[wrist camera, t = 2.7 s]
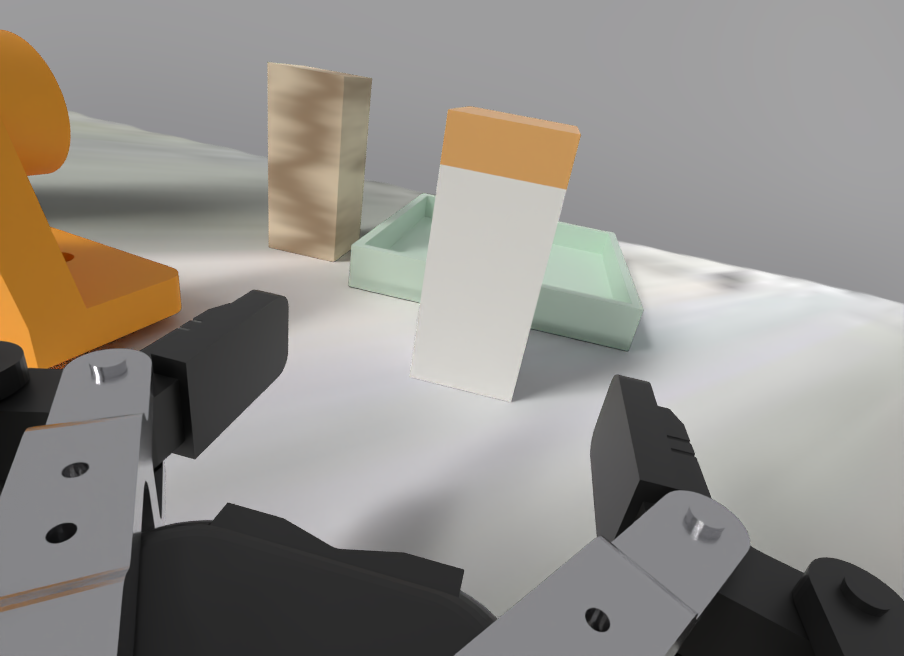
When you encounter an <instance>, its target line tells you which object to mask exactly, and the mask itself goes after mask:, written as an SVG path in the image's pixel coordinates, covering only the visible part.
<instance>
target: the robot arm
mask: <svg viewBox="0 0 904 656" xmlns="http://www.w3.org/2000/svg"><path fill="white" fill-rule="evenodd" d="M287 356H288V301H287V299H286V297H284V296H281V295H277V294H273V293H268V292H264V291H260V290H252V291H250V292H249V293H247V294H245V295H244V296H242V297H241V298H239V299H237V300H236V301H234V302H233V303H231V304H230V303H229V304H225V305H222V306H219V307H215V308H212V309H208V310H207V311H205V312H203V313H202V314H200V315H198V316H197V317H195V318H193V321H188V322H187V323H185V324H184V325H182V326H180V329H178V328H177V329H175V330H174V331H172V332H170V333H169V334H167V335H165V336H164V337H162V338H160V339H159V340H157V341H155V342H154V343H152V344H150V345H149V346H147V347H145V348H144V349H142V350H140V351H137V350H133V349H120V348H119V349H105V350H100V351H95V352H91V353H88V354H85V355H83V356H80V357H78V358H76V359H74V360H73V361H71V362H70V363H69V364H68V365H67V366H66V367H65V368H64V369H44V368H28V367H27V363H26V359H25V355H24V351H23V349H22V348H21V347H20V346H19V345H17V344H15V343H11V342H6V341H0V656H904V601H903V599H902V598H901V597H900V596H899V595H898V594H897V593H896V592H894V591H893V590H892V589H891V588H890V587H889V586H887V585H886V584H885V583H883V582H882V581H881V580H879V579H878V578H877V577H875V576H873V575H872V574H870V573H869V572H867V571H865V570H863V569H861V568H860V567H857V566H855V565H853V564H851V563H848V562H845V561H842V560H839V559H835V558H827V557H826V558H818V559H815V560H814V561H812V562H811V564H810V565H809V566H808V568H807V569H806V571H805V572H804V573H803V572H800V571H798V570H796V569H794V568H792V567H790V566H788V565H786V564H784V563H782V562H780V561H778V560H776V559H774V558H772V557H770V556H768V555H766V554H764V553H762V552H760V551H758V550H756V549H755V548H753V547H752V546H750V538H749V535H748V532H747V530H746V529H745V527H744V525H743V524H742V523H741V521H740V520H739V519H738V518H737V517H736V516H735V515H734V514H733V513H732V512H731V511H730V510H728V509H727V508H726V507H724V506H723V505H722V504H720V503H718V502H717V501H715V500H713V499H712V498H711V496H710V493H709V490H708V488H707V485H706V482H705V480H704V477H703V474H702V472H701V469H700V466H699V464H698V461H697V458H696V457H694V455H695V453H694V450H693V448H692V445H691V444H690V443H689V442H690V440H689V437H688V434H687V432H686V429H685V426H684V424H683V423H682V422H681V421H680V420H679V419H678V418H677V417H676V416H675V414H674V413H673V412H672V411H671V410H670V409H668V408H664V407H660V406H657V403H656V400H655V396H654V393H653V390H652V387H651V384H650V383H649V382H647V381H643V380H638V379H634V378H630V377H625V376H621V375H615V376H614V377H613V379H612V381H611V384H610V386H609V389H608V392H607V395H606V398H605V400H604V403H603V406H602V409H601V412H600V415H599V417H598V420H597V423H596V426H595V429H594V432H593V436H592V441H591V449H590V459H591V471H592V483H593V496H594V508H595V520H596V532H597V538H595V539H594V540H592V541H591V542H590V543H589V544H587V545H586V546H585V547H584V548H583V549H581V550H580V551H579V552H578V553H577V554H575V555H574V556H573V557H572V558H571V559H569V560H568V561H567V562H566V563H565V564H563V565H562V566H561V567H560V568H559V569H557V570H556V571H555V572H554V573H553V574H551V575H550V576H549V577H548V578H547V579H545V580H544V581H543V582H542V583H540V584H539V585H538V586H537V587H536V588H534V589H533V590H532V591H531V592H530V593H528V594H527V595H526V596H525V597H524V598H522V599H521V600H520V601H519V602H518V603H516V604H515V605H514V606H513V607H512V608H510V609H509V610H508V611H507V612H506V613H504V614H503V615H502V616H501V617H500V618H498V619H497V618H496V617H495V616H494V615H493V614H492V613H491V612H490V611H489V610H488V609H487V608H485V607H484V606H483V605H482V604H480V603H479V602H478V601H476V600H475V599H474V598H472V597H471V596H469V595H467V594H466V593H464V592H462V591H461V590H460V589H461V584H462V579H463V574H464V570H463V569H460V568H456V567H453V566H449V565H446V564H442V563H439V562H435V561H432V560H428V559H425V558H421V557H418V556H414V555H411V554H407V553H402V552H383V551H365V550H346V549H338V548H334V547H332V546H330V545H328V544H327V543H325V542H323V541H321V540H320V539H318V538H316V537H315V536H313V535H311V534H309V533H308V532H306V531H304V530H303V529H301V528H299V527H297V526H296V525H294V524H292V523H291V522H289V521H287V520H285V519H284V518H280V517H277V516H273V515H270V514H266V513H263V512H259V511H256V510H252V509H249V508H245V507H242V506H238V505H235V504H231V503H227V504H226V505H225V506H224V508H223V509H222V510H221V511H220V512H219V514H218V515H217V516H216V517H215V519H214V520H201V521H188V522H180V523H174V524H170V525H165V481H166V470H165V462H164V460H165V459H166V458H167V457H168V456H169V455H170V454H171V453H174V454H178V455H181V456H185V457H188V458H192V459H196V458H197V457H198V456H199V455H200V454H201V453H202V452H203V451H204V450H205V449H206V448H207V447H208V446H209V445H210V444H211V443H212V442H213V441H214V440H215V439H216V438H217V437H218V436H219V435H220V434H221V433H222V432H223V431H224V430H225V429H226V428H227V427H228V426H229V425H230V424H231V423H232V422H233V421H234V420H235V419H236V418H237V417H238V416H239V415H240V414H241V413H242V412H243V411H244V410H245V409H246V408H247V407H248V406H249V405H250V404H251V403H252V402H253V401H254V400H255V399H256V398H257V397H258V396H259V395H260V394H261V393H262V392H264V391H265V390H266V389H267V388H268V387H269V386H270V385H271V384H272V383H273V382H274V381H275V380H276V379H277V378H278V377H279V375H280V374H281V373H282V371H283V369H284V367H285V364H286V361H287Z"/></svg>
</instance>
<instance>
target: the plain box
mask: <svg viewBox="0 0 904 656" xmlns="http://www.w3.org/2000/svg"><path fill="white" fill-rule="evenodd" d="M371 84H372V78H367V77H362V76H357V75H351V74H346V73H340V72H335V71H330V70H324V69H319V68H313V67H307V66H300V65H291V64H280V63H271V62H268V204H269V247H270V248H274V249H279V250H283V251H287V252H292V253H296V254H301V255H305V256H309V257H314V258H318V259H323V260H327V261H331V262H335V261H336V260H337V259H339V258H340V257H341V256H343V255H344V254H345V253H347V252H348V251H349V250H351V245H352V244H353V243H355V242H356V241H358V240H359V238H360V225H361V212H362V199H363V187H364V174H365V160H366V148H367V136H368V123H369V110H370V97H371Z"/></svg>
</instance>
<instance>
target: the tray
mask: <svg viewBox="0 0 904 656" xmlns="http://www.w3.org/2000/svg"><path fill="white" fill-rule="evenodd" d="M435 197H436V196H434V195H429V194H425V193H422V194H421V195H420V196H418V197H417V198H415V199H414V200H413V201H411V202H410V203H409V204H407V205H406V206H404V207H403V208H402V209H400V210H399V211H398V212H396V213H395V214H393V215H392V216H391V217H389V218H388V219H386V220H385V221H384V222H382V223H381V224H380V225H378V226H377V227H375V228H374V229H373V230H371V231H370V232H369V233H367V234H366V235H364V236H363V237H362V238H360V239H359V240H358V241H356V242H355V243H353V244H352V245H351V259H350V273H349V286H350V287H354V288H359V289H363V290H367V291H371V292H376V293H380V294H384V295H389V296H393V297H397V298H402V299H406V300H410V301H414V302H419V303H420V300H421V293H422V286H423V280H424V273H425V266H426V259H427V252H428V245H429V238H430V231H431V224H432V217H433V211H434V204H435ZM642 313H643V307H642V305H641V302H640V299H639V297H638V294H637V291H636V289H635V286H634V283H633V281H632V278H631V275H630V273H629V270H628V267H627V265H626V262H625V259H624V257H623V254H622V251H621V249H620V246H619V244H618V241H617V238H616V236H615V234H614V233H612V232H607V231H602V230H597V229H592V228H588V227H583V226H578V225H573V224H568V223H564V222H559V221H558V224H557V228H556V232H555V236H554V240H553V243H552V247H551V251H550V255H549V259H548V263H547V266H546V270H545V274H544V278H543V282H542V286H541V289H540V293H539V297H538V301H537V305H536V309H535V312H534V316H533V320H532V324H531V329H535V330H539V331H544V332H548V333H552V334H556V335H561V336H565V337H569V338H574V339H578V340H582V341H587V342H591V343H595V344H599V345H604V346H608V347H612V348H617V349H621V350H625V351H629V348H630V345H631V343H632V340H633V337H634V335H635V332H636V329H637V326H638V324H639V321H640V318H641V316H642Z"/></svg>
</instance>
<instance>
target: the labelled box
mask: <svg viewBox="0 0 904 656" xmlns="http://www.w3.org/2000/svg"><path fill="white" fill-rule="evenodd" d="M580 136H581V134H580V132H579V129H578V127H577V126H573V125H568V124H562V123H557V122H551V121H546V120H541V119H536V118H530V117H525V116H519V115H514V114H509V113H504V112H498V111H493V110H488V109H482V108H477V107H471V106H468V107H462V108H454V109H449V110H448V114H447V121H446V129H445V135H444V142H443V149H442V155H441V163H440V170H439V177H438V184H437V190H436V197H435V204H434V211H433V217H432V224H431V231H430V238H429V245H428V252H427V259H426V266H425V273H424V280H423V286H422V293H421V300H420V307H419V314H418V321H417V328H416V335H415V342H414V348H413V355H412V362H411V369H410V376H409V377H411V378H415V379H419V380H423V381H427V382H431V383H435V384H439V385H443V386H447V387H451V388H455V389H459V390H464V391H468V392H472V393H476V394H480V395H484V396H488V397H492V398H496V399H500V400H504V401H508V402H511V400H512V397H513V393H514V389H515V385H516V381H517V377H518V374H519V370H520V366H521V362H522V358H523V354H524V351H525V347H526V343H527V339H528V335H529V332H530V328H531V324H532V320H533V316H534V312H535V309H536V305H537V301H538V297H539V293H540V289H541V286H542V282H543V278H544V274H545V270H546V266H547V263H548V259H549V255H550V251H551V247H552V243H553V240H554V236H555V232H556V228H557V224H558V220H559V217H560V213H561V209H562V205H563V201H564V197H565V193H566V190H567V186H568V182H569V178H570V175H571V171H572V167H573V163H574V159H575V155H576V152H577V148H578V144H579V140H580Z"/></svg>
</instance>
